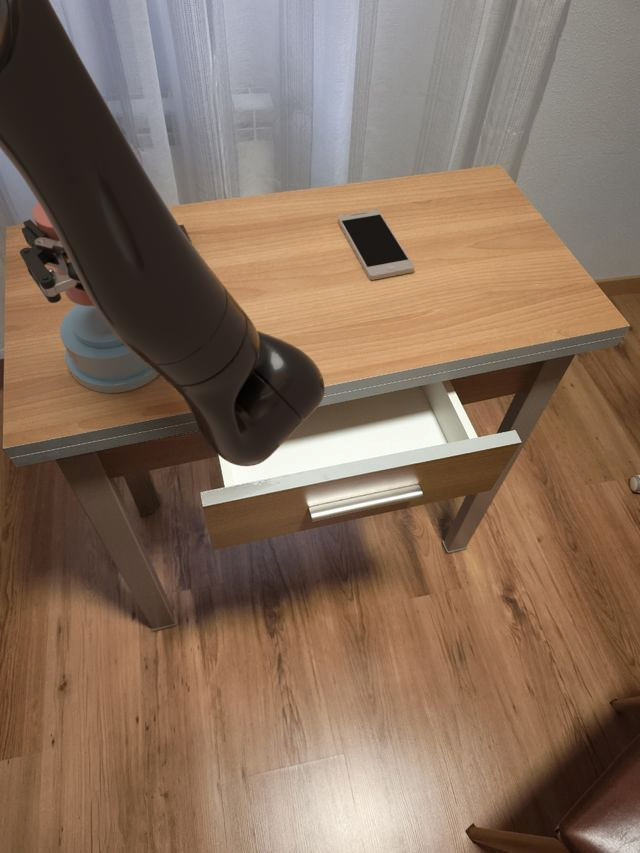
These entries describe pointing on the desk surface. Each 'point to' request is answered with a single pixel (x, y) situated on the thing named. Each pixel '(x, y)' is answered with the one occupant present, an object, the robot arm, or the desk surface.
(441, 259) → the desk surface
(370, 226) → the smartphone
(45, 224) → the terracotta cylinder
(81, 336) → the blue stepped cylinder
